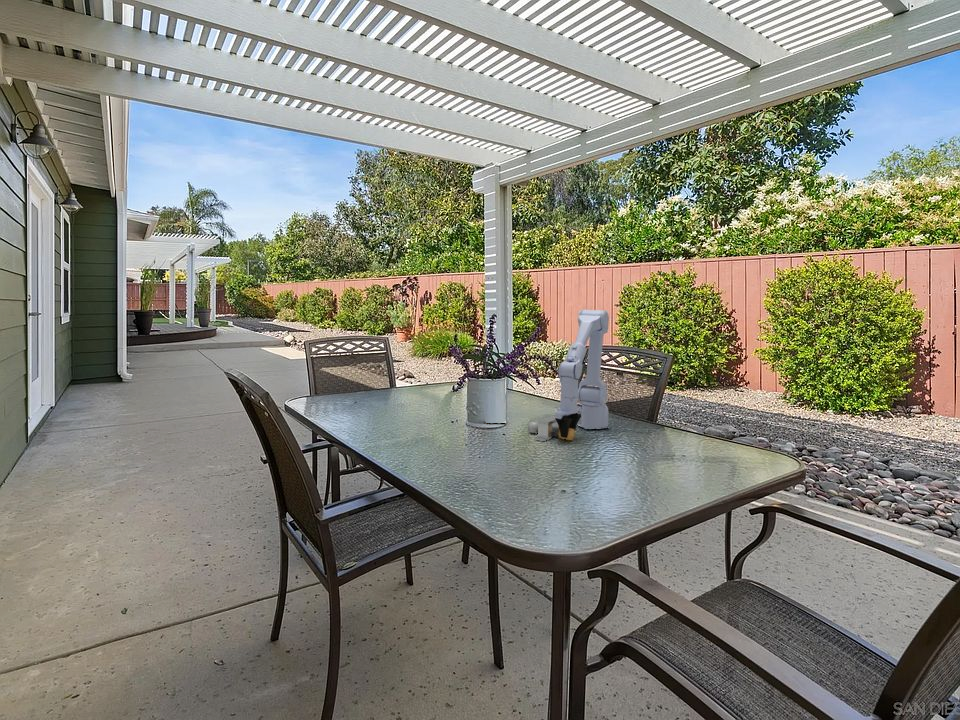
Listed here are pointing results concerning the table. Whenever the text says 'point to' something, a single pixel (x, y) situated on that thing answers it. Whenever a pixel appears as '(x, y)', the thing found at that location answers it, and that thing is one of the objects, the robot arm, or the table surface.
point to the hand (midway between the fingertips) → (567, 435)
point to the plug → (534, 429)
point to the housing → (547, 428)
